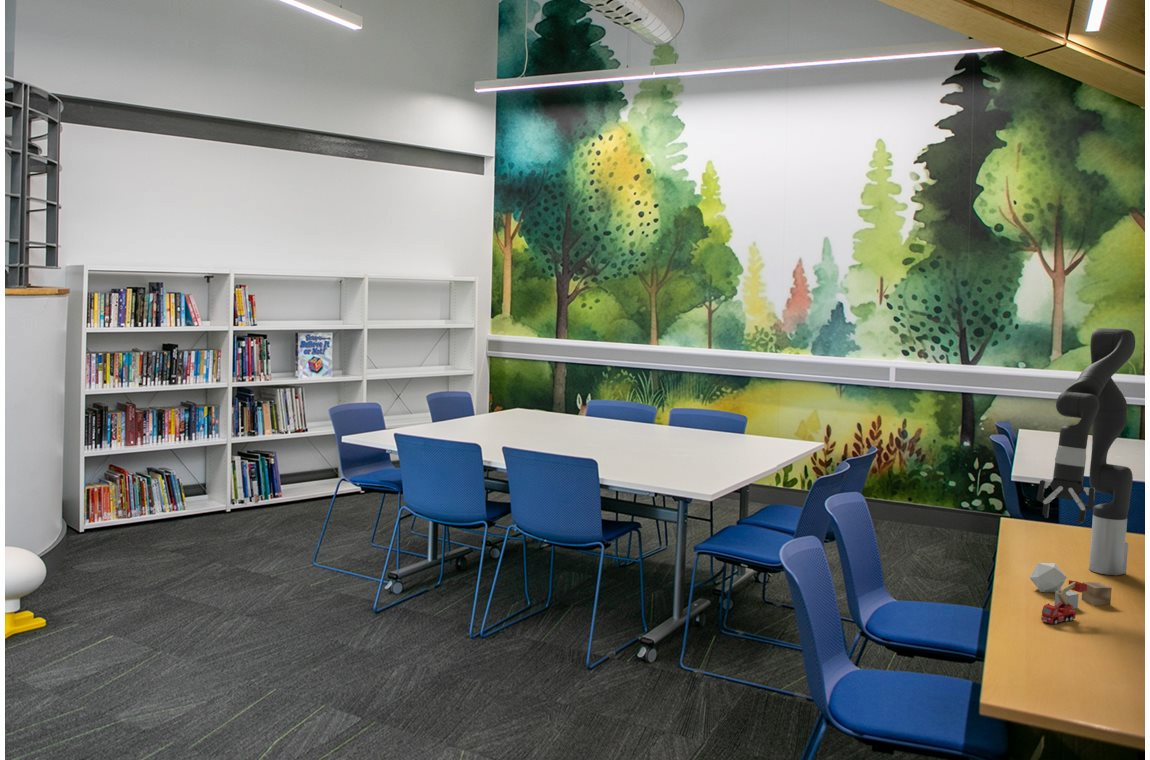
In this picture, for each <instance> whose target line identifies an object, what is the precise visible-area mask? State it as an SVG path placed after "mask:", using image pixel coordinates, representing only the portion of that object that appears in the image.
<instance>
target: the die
mask: <svg viewBox="0 0 1150 760" xmlns="http://www.w3.org/2000/svg"><path fill="white" fill-rule="evenodd" d="M1067 578H1068V576H1067V575H1066V574H1065V573H1064V572H1063V571H1062V570H1061V569H1060V568H1059V566H1058V565H1057V564H1056V563H1055V562H1054V563H1053V562H1051V563H1050V562H1037V563H1036V565H1035V567H1034V569H1033V570H1032V572H1031V575H1030V576H1029V580H1030V581H1031V582H1032V583H1033V584H1034V586H1035V587H1036V588H1037V589H1038V590H1039V592H1040V593H1055V591H1058V590H1059V589H1062V587H1063V585H1064V583H1065V581H1066V580H1067Z"/></svg>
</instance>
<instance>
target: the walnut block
mask: <svg viewBox="0 0 1150 760" xmlns="http://www.w3.org/2000/svg"><path fill="white" fill-rule="evenodd" d="M1082 583H1084V584H1087V591H1084V592H1081V599H1080V600H1081V601H1083V602H1085V603H1088V604H1090V605H1092V606H1111V601H1112V587H1111V586H1109V585H1107V584H1105V583H1102V582H1100V581H1097V582H1096V581H1087V582H1086V581H1085V582H1082Z"/></svg>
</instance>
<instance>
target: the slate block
mask: <svg viewBox="0 0 1150 760" xmlns="http://www.w3.org/2000/svg"><path fill="white" fill-rule="evenodd" d="M1057 592H1058V591H1055V592H1054V593H1055V594H1054V606H1056V605H1057V604H1059V603H1060V602H1061V601H1060V599H1059V598H1058V596H1057V595H1056V593H1057ZM1066 594H1067V597H1068V599H1069V602H1070V604H1071V605H1073V610H1076V609H1078V608H1079V593H1078V592H1075V591H1072V590H1069V591H1067V592H1066ZM1065 607H1066V606H1065Z"/></svg>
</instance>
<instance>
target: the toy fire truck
mask: <svg viewBox="0 0 1150 760" xmlns="http://www.w3.org/2000/svg"><path fill="white" fill-rule="evenodd" d="M1067 591H1072V592H1076V593H1081V594H1082V592H1084V591H1087V584H1084V583H1083V582H1080V581H1076V580H1071V579H1069V580H1068V585H1066V586H1064V587H1063V588H1062V587H1061V589H1059V590H1058V592H1057V593H1056V595H1057V596H1058V598H1059V599H1060V601H1061V602H1060V603H1059V604H1057V605H1056V606H1055V605H1051V604H1050V603H1047V604H1044V605H1043V607H1042V610H1041V619H1040V620H1041V621H1043V622H1044V623H1048V624H1050V625H1051V624H1053V625H1057V624H1058V623H1061V622H1065V623H1067V622H1072V621H1073V620H1074V619H1076V613H1077V612H1076V610H1074V609H1073V605H1071V604H1070V602H1069V599H1068V597H1067V594H1066V592H1067ZM1065 606H1066V607H1065Z"/></svg>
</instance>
